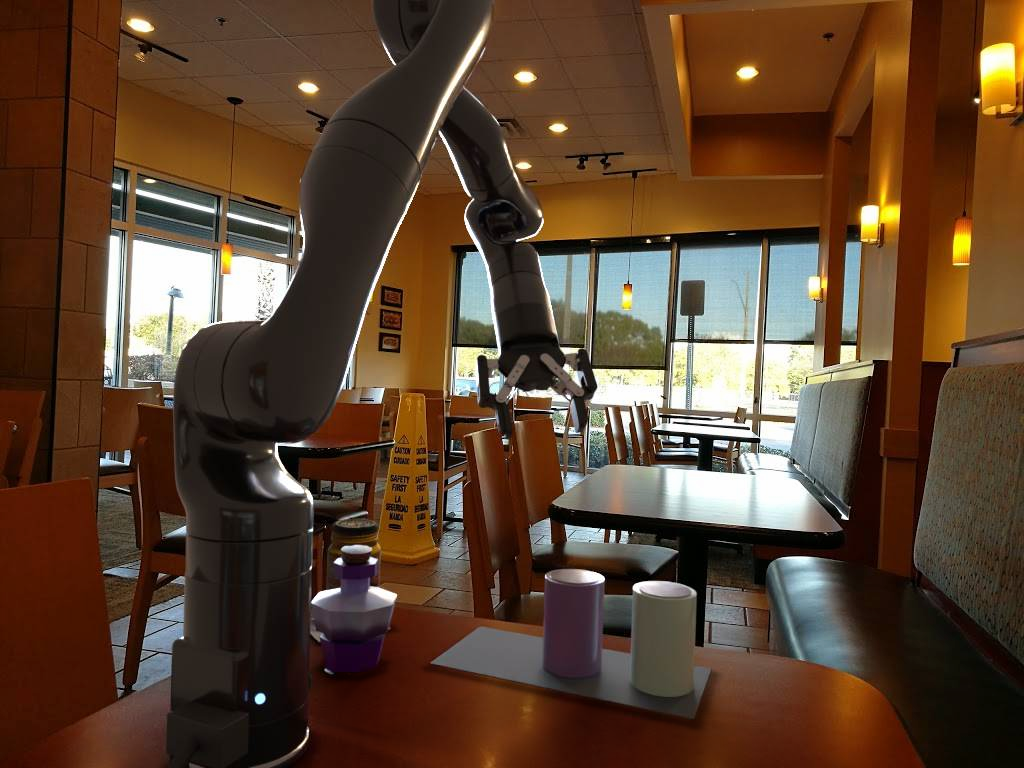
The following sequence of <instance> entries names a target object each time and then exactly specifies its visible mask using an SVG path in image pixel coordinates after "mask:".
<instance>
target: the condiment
mask: <svg viewBox="0 0 1024 768" xmlns="http://www.w3.org/2000/svg"><path fill="white" fill-rule="evenodd" d="M378 531H379V524H378V523H377V522H376V521H374V520H372V519H365V518H347V519H341V520H337V521H334V523H332V526H331V537H330V541H331V543H330V545H329V546H328V548H327V556H326V557H327V558H326V559H327V561H326V562H327V564H326V591H328V590H332V589H337V588H340V587H341V578H339V577H336V576H334V575H333V566H334V562H335V561H336V559H337V558H341V549H342V547H344V546H353V545H363V546H368V547H371V548H372V553H371V556H370V557H372V558H375V559H378V572H377V573H376V575H375V576H374V577H370V586H372V587H379V588H381V585H380V583H381V558H382V548H381V545H380V544H379V542H378V541H379V533H378ZM391 629H392V627H391V626H390V627H389V629H388V631H389V630H391ZM321 635H322V632H319V631H318V632H316V627H315V622H314V617H311V623H310V636H312V637H313V638H314V639H315V640H317V642H318V643H321V641H320V636H321Z"/></svg>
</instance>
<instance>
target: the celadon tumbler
mask: <svg viewBox="0 0 1024 768" xmlns="http://www.w3.org/2000/svg"><path fill="white" fill-rule="evenodd" d="M697 593H698V592H697V591H696V590H695V589H693V587H690V586H687V585H685V584H681V583H677V582H672V581H664V580H663V581H662V580H648V581H641V582H638V583H635V584H634V585H633V586H632V598H631V601H632V602H631V627H630V630H631V631H630V653H629V654H630V683H631V684H632V686H634V687H635V688H636V689H638V690H640V691H642V692H644V693H647V694H651V695H655V696H662V697H678V696H683V695H686V694H688V693H690V692H691V691H692V690H693V682H694V665H695V650H696V629H697V627H696V625H697V599H698V594H697Z"/></svg>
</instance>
